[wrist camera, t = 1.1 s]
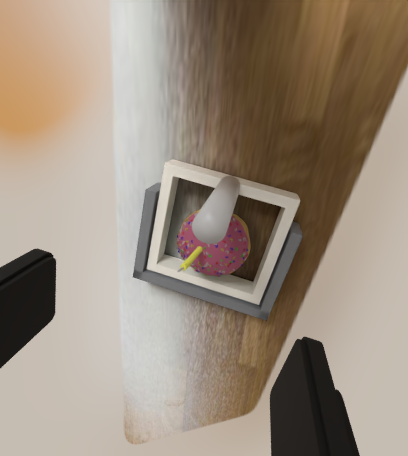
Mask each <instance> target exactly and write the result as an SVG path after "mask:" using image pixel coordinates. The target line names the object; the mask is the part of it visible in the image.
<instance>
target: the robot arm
mask: <svg viewBox="0 0 408 456" xmlns="http://www.w3.org/2000/svg"><path fill="white" fill-rule="evenodd" d="M55 291H56V260H55V259H54V258H53V255H52V254H51V253H49V252H46V251H43V250H40V249H33V250H31V251H30V252H28V253H26V254H24V255H22V256H20V257H19V258H17V259H15V260H13V261H11V262H10V263H8V264H6V265H4V266H2V267H0V368H1V367H2V366H3V365H4V364H6V362H8V361H9V360H10V359H11V358H12V357H13V356H14V355H15V354H16V353H17V352H18V351H19V350H21V349H22V348H23V347H24V346H25V345H26V344H27V343H28V342H29V341H30V340H31V339H32V338H33V337H34V336H35V335H37V334H38V333H39V332H40V331H41V330H42V329H43V328H44V327H45V326H46V325H47V324H48V323H49V322H50V321H51V320H52V319H53V317H54V315H55ZM270 420H271V456H360V455H359V452H358V448H357V445H356V442H355V438H354V435H353V431H352V428H351V425H350V422H349V418H348V414H347V411H346V407H345V404H344V401H343V398H342V395H341V393H340V392H339V391H338V390H335V387H334V383H333V380H332V376H331V373H330V369H329V365H328V362H327V358H326V354H325V351H324V347H323V344H322V343H321V342H320V341H317V340H314V339H311V338H307V337H303V338H302V340H300V339H297V340H296V341H295V343H294V346H293V347H292V349H291V351H290V354H289V355H288V358H287V360H286V361H285V363H284V365H283V367H282V370H281V372H280V374H279V376H278V377H277V379H276V382H275V384H274V386H273V387H272V390H271V394H270Z"/></svg>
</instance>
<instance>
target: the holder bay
mask: <svg viewBox="0 0 408 456" xmlns="http://www.w3.org/2000/svg"><path fill="white" fill-rule="evenodd" d="M160 188H161V183H156V184H155V185H153V186H151V187H150V188H148V189H146V192H145V199H144V205H143V212H142V219H141V225H140V232H139V239H138V246H137V252H136V259H135V266H134V273H133V277H134V278H137V279H140V280H143V281H146V282H149V283H152V284H155V285H159V286H162V287H165V288H168V289H171V290H174V291H177V292H180V293H183V294H186V295H189V296H192V297H195V298H199V299H202V300H205V301H208V302H211V303H214V304H217V305H220V306H223V307H226V308H229V309H232V310H235V311H239V312H242V313H245V314H248V315H251V316H254V317H257V318H260V319H263V320H266V321H267V319H268V316H269V314H270V312H271V309H272V307H273V305H274V302H275V300H276V298H277V295H278V293H279V291H280V288H281V286H282V284H283V281H284V279H285V277H286V274H287V272H288V270H289V267H290V265H291V263H292V260H293V258H294V255H295V253H296V251H297V248H298V246H299V244H300V241H301V239H302V237H303V234H302V232H301V229H300V226H299V223H297V222H293V221H292V223H291V226H290V228H289V231H288V233H287V236H286V238H285V241H284V243H283V246H282V248H281V251H280V253H279V256H278V258H277V261H276V263H275V266H274V268H273V271H272V273H271V276H270V278H269V281H268V284H267V286H266V289H265V291H264V294H263V296H262V299H261V301H260V304H259V305H257V304H254V303H251V302H248V301H245V300H242V299H239V298H236V297H232V296H229V295H226V294H223V293H220V292H217V291H214V290H211V289H207V288H204V287H201V286H198V285H195V284H192V283H189V282H186V281H182V280H179V279H176V278H173V277H170V276H167V275H164V274H161V273H158V272H154V271H151V270H148V269H147V264H148V258H149V252H150V246H151V240H152V235H153V229H154V223H155V217H156V211H157V205H158V200H159V194H160Z"/></svg>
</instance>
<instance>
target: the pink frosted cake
mask: <svg viewBox="0 0 408 456" xmlns="http://www.w3.org/2000/svg"><path fill="white" fill-rule="evenodd" d="M199 211H200V210H198V211H196V212H194V213H192V214H191V215H189V216H188V217H187V218H186V219H185V221H184V222H183V224H182V226H181V228H180V231H179V234H178V236H177V238H178V239H177V249H178V252H179V253H180V254H181V256H182V257H183V259H184V260H185V261H184V262H183V263H182V265H181V266H180V269H179V270H178V271H177V272H180V271H181V270H183V271H185V270H186V269H187V268H188V267H190V266H191V267H192V268H193V269H195V271H196V272H198V273H199V272H200V273H201V274H205V275H206V276H207V275H210V276H218V277H219V276H221V275H227V274H231V273H234V271H235V270H237V269H238V268H239V267H240V266H242V265H243V263H244V262H245V260H246V259H247V257H248V255H249V253H250V247H251V244H250V238H249V233H248V227H247V225H246V224H245V222H244V221H243V220H242V219H241V218H240V217H238V216H237V215H235V214H234V213H232V217H231V220H230V223H229V226H228V229H227V232H226V235H225V237H224V238H223V239H222V240H221V241H220V242H218V243H215V244H206V243H203V242H201V241H200V240H198V239H197V238H196V237H195V235H194V233H193V230H192V222H193V220H194V218H195V217H196V215H197V214H198V212H199Z"/></svg>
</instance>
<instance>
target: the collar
mask: <svg viewBox="0 0 408 456" xmlns="http://www.w3.org/2000/svg"><path fill="white" fill-rule="evenodd" d="M179 178H182V179H186V180H189V181H193V182H196V183H200V184H203V185H207V186H210V187H214V188H215V189H214V191H213V192H212V194H211V195H210V196H209V198H208V199H207V201H206V202H205V204H204V205H203V206H202V208H201V209H200V211H199V212H198V214H197V215H196V217H195V218H194V220H193V222H192V230H193V233H194V235H195V237H196V238H197V239H198V240H200V241H201V242H203V243H206V244H215V243H218V242H220V241H221V240H222V239H223V238H224V237H225V235H226V232H227V229H228V226H229V223H230V220H231V217H232V213H233V210H234V207H235V204H236V201H237V198H238V195H242V196H245V197H249V198H252V199H256V200H259V201H263V202H267V203H270V204H274V205H277V206H281V209H280V212H279V214H278V217H277V220H276V222H275V225H274V228H273V230H272V233H271V236H270V238H269V241H268V244H267V246H266V249H265V252H264V255H263V257H262V260H261V263H260V265H259V268H258V271H257V273H256V276H255V279H254V281H253V282H252V281H249V280H246V279H243V278H239V277H236V276H233V275H230V274H227V275H221V276H219V277H218V276H210V275H207V276H206V275H205V274H201V273H200V272H199V273H198V272H196V271H195V269H193V268H192V267H191V266H190V267H188V268H187V269H186V270H185V271H183V270H181V271H180V272H177V271H178V270H179V269H180V266H181V265H182V263H183V262H184V261H185V260H182V259H179V258H176V257H172V256H169V255H166V254H164V251H165V246H166V241H167V236H168V231H169V226H170V221H171V216H172V211H173V206H174V201H175V196H176V191H177V186H178V180H179ZM299 203H300V198H299V196H298V194H296V193H293V192H289V191H285V190H282V189H278V188H275V187H271V186H267V185H264V184H260V183H257V182H253V181H249V180H246V179H242V178H239V177H235V176H231V175H228V174H224V173H221V172H217V171H213V170H210V169H206V168H203V167H199V166H195V165H192V164H188V163H185V162H181V161H177V160H174V159H172V160H170V161H168V162H165V165H164V170H163V176H162V182H161V188H160V194H159V200H158V205H157V211H156V217H155V223H154V229H153V235H152V240H151V246H150V252H149V258H148V264H147V269H148V270H151V271H154V272H158V273H161V274H164V275H167V276H170V277H173V278H176V279H179V280H182V281H186V282H189V283H192V284H195V285H198V286H201V287H204V288H207V289H211V290H214V291H217V292H220V293H223V294H226V295H229V296H232V297H236V298H239V299H242V300H245V301H248V302H251V303H254V304H257V305H259V304H260V301H261V299H262V296H263V294H264V291H265V289H266V286H267V284H268V281H269V278H270V276H271V273H272V271H273V268H274V266H275V263H276V261H277V258H278V256H279V253H280V251H281V248H282V246H283V243H284V241H285V238H286V236H287V233H288V231H289V228H290V226H291V223H292V221H293V218H294V216H295V213H296V211H297V208H298V206H299Z"/></svg>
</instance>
